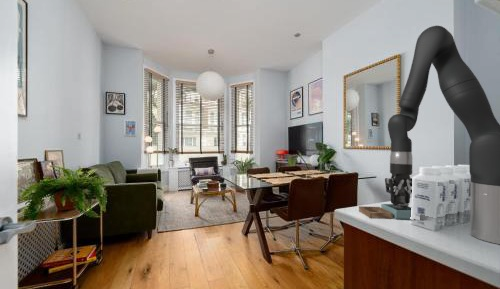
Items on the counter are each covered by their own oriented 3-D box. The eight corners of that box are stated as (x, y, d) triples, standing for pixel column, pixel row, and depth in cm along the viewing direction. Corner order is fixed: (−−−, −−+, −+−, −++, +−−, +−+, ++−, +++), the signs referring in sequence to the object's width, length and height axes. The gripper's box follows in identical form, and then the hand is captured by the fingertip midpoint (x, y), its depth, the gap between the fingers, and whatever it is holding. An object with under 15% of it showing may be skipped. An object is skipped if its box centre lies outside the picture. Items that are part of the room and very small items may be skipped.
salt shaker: (399, 209, 89) (400, 181, 89) (412, 214, 83) (413, 184, 83) (387, 209, 88) (388, 181, 88) (400, 214, 82) (400, 184, 82)
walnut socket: (379, 211, 91) (379, 206, 91) (392, 218, 82) (392, 213, 82) (358, 211, 91) (359, 206, 91) (370, 218, 82) (370, 212, 82)
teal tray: (403, 212, 90) (403, 204, 90) (420, 220, 81) (421, 211, 81) (381, 212, 90) (381, 203, 90) (396, 219, 81) (396, 210, 81)
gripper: (395, 163, 80) (394, 206, 80) (423, 163, 84) (423, 205, 84) (379, 161, 88) (378, 201, 87) (405, 162, 91) (405, 200, 91)
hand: (400, 203), depth 86 cm, fingers closed on salt shaker, 5 cm apart
